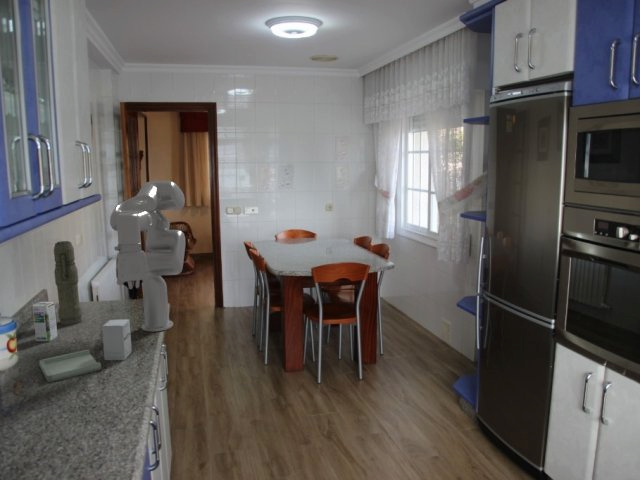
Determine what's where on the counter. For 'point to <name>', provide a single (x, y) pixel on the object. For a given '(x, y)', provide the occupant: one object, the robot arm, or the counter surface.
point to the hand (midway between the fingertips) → (133, 298)
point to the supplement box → (116, 339)
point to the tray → (68, 365)
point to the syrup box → (45, 321)
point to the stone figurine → (67, 284)
